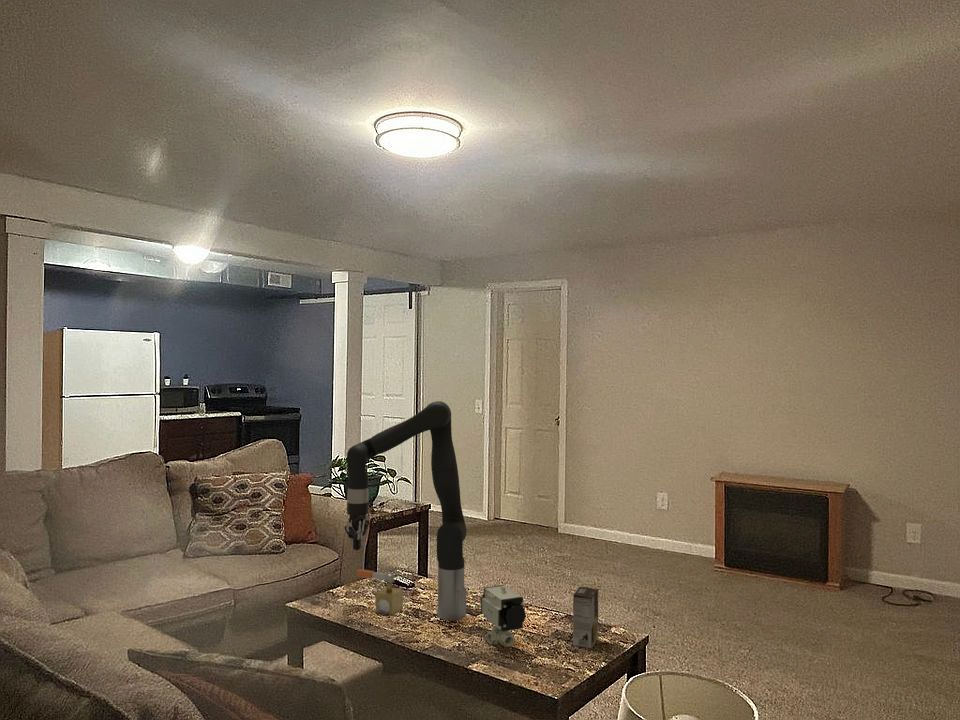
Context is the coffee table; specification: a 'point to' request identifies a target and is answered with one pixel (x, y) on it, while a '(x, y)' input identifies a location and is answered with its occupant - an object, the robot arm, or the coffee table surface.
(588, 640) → the coffee box
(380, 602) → the valve housing
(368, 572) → the valve lever
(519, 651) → the coffee table surface
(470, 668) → the coffee table surface
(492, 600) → the ball valve
